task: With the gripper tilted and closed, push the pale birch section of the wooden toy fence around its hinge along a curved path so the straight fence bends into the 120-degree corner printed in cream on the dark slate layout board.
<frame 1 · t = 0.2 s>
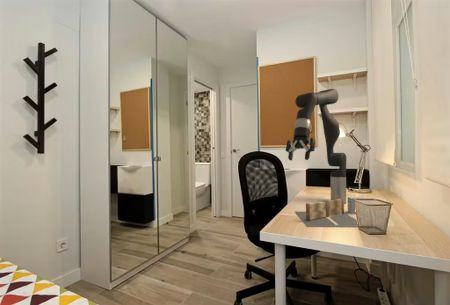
hand: (298, 159, 109), 31 cm above the table, tool tilted 20°, fingers open, 8 cm apart
layout board: (326, 219, 113), on the table
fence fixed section: (326, 216, 116), resting on layout board
medicine box: (356, 213, 123), on the table
fence swing section: (315, 210, 113), point 5 cm above the table, hinge at 0.0°
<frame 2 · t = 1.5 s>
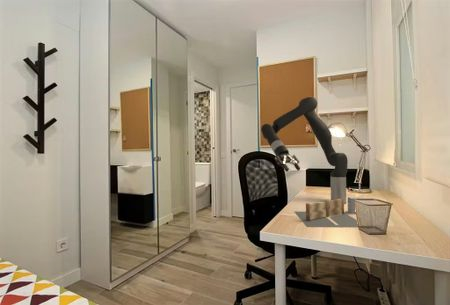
hand: (293, 170, 122), 25 cm above the table, tool tilted 45°, fingers open, 7 cm apart
nothing on the table moved.
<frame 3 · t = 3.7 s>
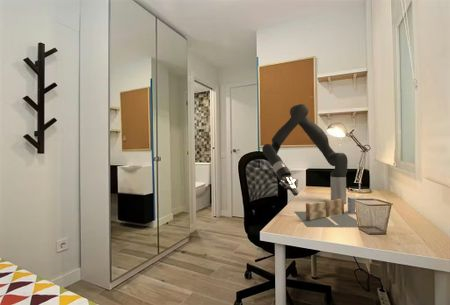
hand: (296, 194, 120), 11 cm above the table, tool tilted 45°, fingers closed
nothing on the table moved.
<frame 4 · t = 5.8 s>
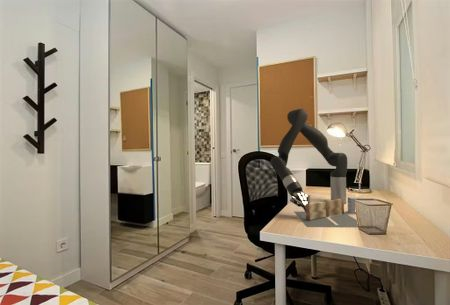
hand: (309, 212, 112), 4 cm above the table, tool tilted 45°, fingers closed
fence swing section: (315, 210, 113), point 5 cm above the table, hinge at 0.0°, touching gripper
everything else where it was.
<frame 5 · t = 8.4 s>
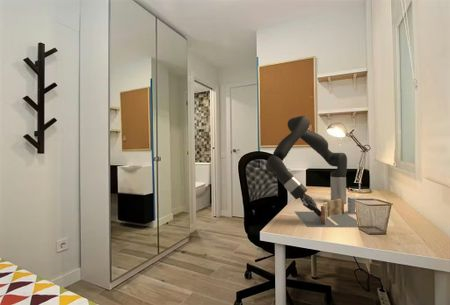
hand: (321, 215, 107), 4 cm above the table, tool tilted 45°, fingers closed
fence swing section: (324, 211, 110), point 5 cm above the table, hinge at 33.4°, touching gripper
everything else where it was.
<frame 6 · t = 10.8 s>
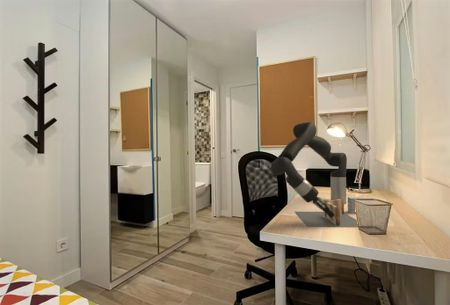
hand: (332, 215, 105), 4 cm above the table, tool tilted 45°, fingers closed
fence swing section: (332, 212, 108), point 5 cm above the table, hinge at 61.2°
everything else where it was.
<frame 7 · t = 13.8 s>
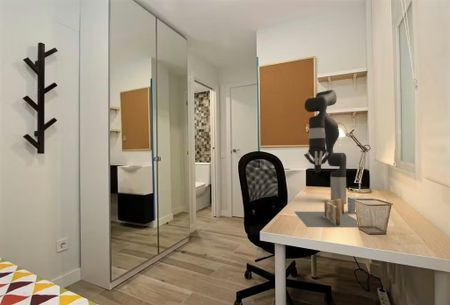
hand: (317, 172, 111), 24 cm above the table, tool pointing down, fingers closed
nothing on the table moved.
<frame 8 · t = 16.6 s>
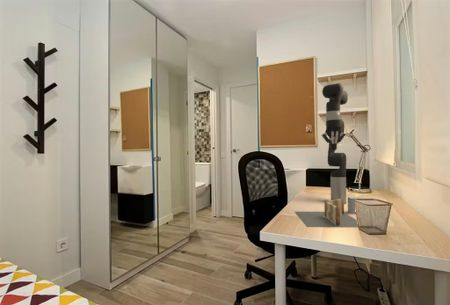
hand: (333, 150, 125), 35 cm above the table, tool pointing down, fingers closed
nothing on the table moved.
at the end: fence swing section at +61° (first picture: +0°); medicine box moved 0.3 cm from its start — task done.
